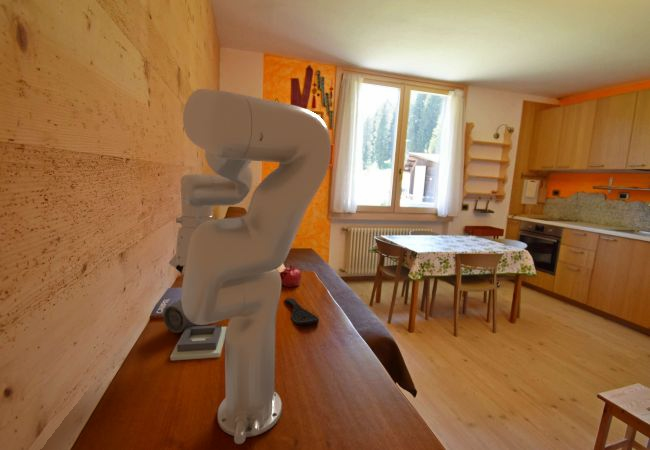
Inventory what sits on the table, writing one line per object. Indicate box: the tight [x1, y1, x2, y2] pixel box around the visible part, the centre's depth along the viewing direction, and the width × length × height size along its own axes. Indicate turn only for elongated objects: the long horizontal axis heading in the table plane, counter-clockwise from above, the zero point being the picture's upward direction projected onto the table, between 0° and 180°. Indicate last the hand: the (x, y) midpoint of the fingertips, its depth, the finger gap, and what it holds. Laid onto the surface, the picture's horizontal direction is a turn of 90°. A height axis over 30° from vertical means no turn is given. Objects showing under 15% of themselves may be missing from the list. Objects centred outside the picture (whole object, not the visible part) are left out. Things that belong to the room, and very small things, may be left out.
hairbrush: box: [284, 297, 320, 326], centre depth 106 cm, size 8×4×25 cm
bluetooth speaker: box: [163, 299, 201, 333], centre depth 97 cm, size 23×9×10 cm, turn 159°
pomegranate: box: [279, 263, 302, 288], centre depth 133 cm, size 10×10×9 cm
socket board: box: [169, 324, 227, 361], centre depth 84 cm, size 14×12×3 cm
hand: (199, 287), depth 82 cm, fingers closed on keyed plug, 4 cm apart
